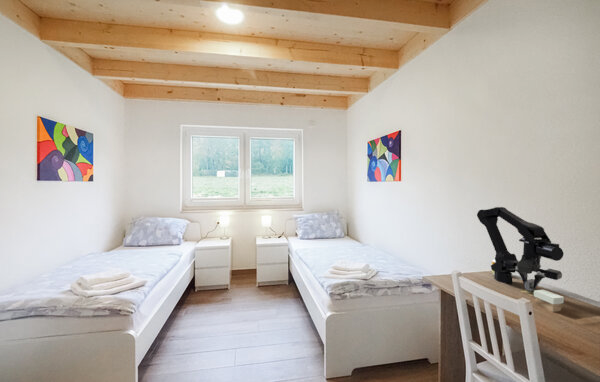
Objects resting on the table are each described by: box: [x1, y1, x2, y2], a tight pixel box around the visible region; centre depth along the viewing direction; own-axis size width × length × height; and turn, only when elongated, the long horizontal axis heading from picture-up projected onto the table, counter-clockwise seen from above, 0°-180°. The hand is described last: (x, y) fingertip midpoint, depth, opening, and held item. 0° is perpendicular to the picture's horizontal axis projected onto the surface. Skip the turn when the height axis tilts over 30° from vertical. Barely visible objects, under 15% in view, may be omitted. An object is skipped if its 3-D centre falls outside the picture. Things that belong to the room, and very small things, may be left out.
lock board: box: [519, 290, 563, 313], centre depth 107 cm, size 17×13×4 cm
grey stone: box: [524, 278, 535, 293], centre depth 113 cm, size 7×3×5 cm, turn 119°
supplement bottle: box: [491, 255, 496, 276], centre depth 137 cm, size 6×6×10 cm
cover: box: [533, 289, 565, 304], centre depth 101 cm, size 7×5×2 cm
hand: (530, 287), depth 114 cm, fingers closed on grey stone, 3 cm apart
